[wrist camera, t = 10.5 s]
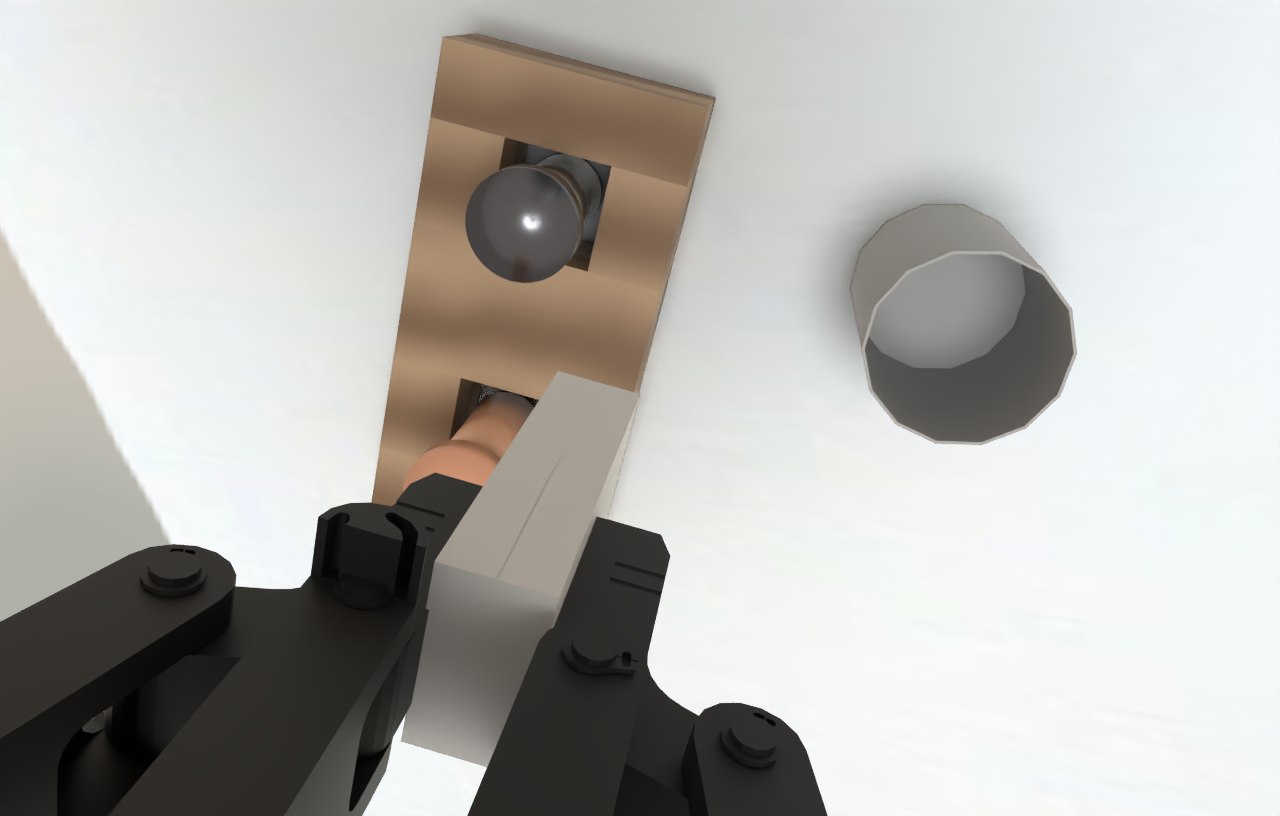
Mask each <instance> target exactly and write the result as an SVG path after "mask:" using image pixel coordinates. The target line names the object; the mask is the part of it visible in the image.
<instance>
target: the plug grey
mask: <svg viewBox="0 0 1280 816" xmlns="http://www.w3.org/2000/svg"><path fill="white" fill-rule="evenodd" d="M600 198H601V186H600V182H599V179H598V176H597V174H596V172H595V171H594V169H593V168H592V167H591V166H590V165H589V164H588V163H587V162H586V161H584V160H583V159H581V158H579V157H575V156H572V155H568V154H556V155H553V156H550V157H548V158H546V159H544V160H543V161H541V162H540V163H538V164H536V165H534V164H516V165H511V166H508V167H505V168H503V169H501V170H499V171H497V172H496V173H494V174H492V175H490V176H489V177H487V178H486V179H485V180H483V181H482V182H481V183H480V184H479V185H478V187H477V188H476V189H475V190H474V192H473V194H472V196H471V197H470V200H469V202H468V205H467V210H466V216H465V227H466V234H467V237H468V241H469V243H470V246H471V248H472V250H473V252H474V253H475V255H476V256H477V258H478V259H479V260H480V262H481V263H482V264H483V265H484V266H485V267H486V268H488V269H489V270H490V271H491V272H493V273H494V274H496V275H497V276H499V277H502V278H504V279H506V280H509V281H513V282H519V283H533V282H538V281H542V280H545V279H547V278H549V277H551V276H553V275H554V274H556V273H557V272H559V271H560V270H561V269H562V268H563V267H564V266H565V265H566V264H567V262H568V261H569V260H570V259H571V258H572V256H573V255H574V254H575V252H576V251H577V249H578V247H579V244H580V242H581V238H582V234H583V225H584V224H585V223H586V222H587V221H588V220H589V219H590V218H591V217H592V216H593V214H594V213H595V212H596V210H597V208H598V206H599V203H600Z"/></svg>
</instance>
